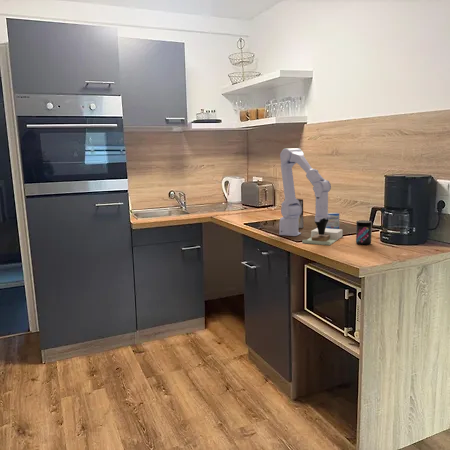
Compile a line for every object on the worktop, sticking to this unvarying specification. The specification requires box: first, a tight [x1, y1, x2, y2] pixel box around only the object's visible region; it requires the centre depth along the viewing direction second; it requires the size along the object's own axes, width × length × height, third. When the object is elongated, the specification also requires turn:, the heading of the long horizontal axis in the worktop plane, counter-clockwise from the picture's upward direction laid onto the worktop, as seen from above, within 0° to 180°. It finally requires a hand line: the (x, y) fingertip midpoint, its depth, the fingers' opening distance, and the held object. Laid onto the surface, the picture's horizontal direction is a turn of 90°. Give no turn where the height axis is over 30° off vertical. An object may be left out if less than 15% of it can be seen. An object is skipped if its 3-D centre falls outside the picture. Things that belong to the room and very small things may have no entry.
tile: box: [312, 234, 330, 242], centre depth 199 cm, size 6×9×2 cm, turn 150°
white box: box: [310, 227, 343, 241], centre depth 207 cm, size 13×10×4 cm
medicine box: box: [325, 212, 340, 229], centre depth 228 cm, size 8×4×9 cm, turn 101°
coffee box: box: [283, 198, 304, 229], centre depth 234 cm, size 9×6×16 cm
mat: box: [301, 236, 338, 246], centre depth 198 cm, size 13×12×2 cm
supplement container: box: [355, 219, 373, 246], centre depth 190 cm, size 7×7×10 cm
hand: (321, 234), depth 200 cm, fingers closed
